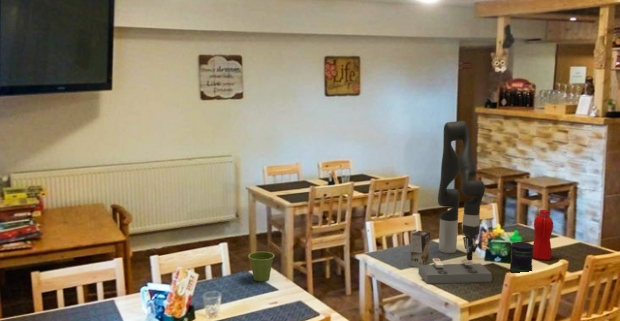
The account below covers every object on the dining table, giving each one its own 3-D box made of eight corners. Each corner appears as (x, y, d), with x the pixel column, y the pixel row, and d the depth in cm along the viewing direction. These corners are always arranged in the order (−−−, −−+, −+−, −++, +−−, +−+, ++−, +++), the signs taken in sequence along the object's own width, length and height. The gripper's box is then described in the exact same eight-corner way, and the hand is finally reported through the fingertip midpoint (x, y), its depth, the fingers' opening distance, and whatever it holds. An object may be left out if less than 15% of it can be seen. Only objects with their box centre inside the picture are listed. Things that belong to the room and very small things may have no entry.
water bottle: (532, 260, 306) (535, 212, 303) (531, 254, 317) (534, 207, 313) (551, 262, 304) (555, 213, 300) (550, 255, 314) (553, 208, 310)
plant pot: (243, 279, 277) (242, 255, 276) (263, 273, 286) (262, 249, 284) (259, 285, 269) (259, 261, 267) (279, 279, 277) (279, 255, 275)
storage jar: (523, 280, 278) (525, 249, 275) (505, 274, 286) (507, 244, 283) (536, 276, 284) (538, 245, 281) (518, 270, 291) (520, 240, 289)
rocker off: (432, 260, 287) (432, 258, 286) (438, 260, 287) (438, 258, 286) (436, 267, 280) (436, 265, 279) (443, 267, 280) (443, 264, 280)
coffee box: (422, 268, 293) (423, 236, 291) (410, 266, 297) (411, 234, 294) (429, 263, 301) (430, 231, 299) (416, 261, 304) (418, 230, 302)
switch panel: (418, 273, 287) (418, 264, 286) (479, 271, 290) (480, 262, 289) (427, 283, 273) (427, 274, 272) (491, 281, 276) (492, 272, 275)
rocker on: (461, 262, 288) (461, 259, 288) (467, 261, 288) (467, 259, 288) (466, 265, 281) (466, 262, 281) (472, 264, 281) (472, 262, 281)
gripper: (458, 220, 284) (456, 255, 287) (468, 227, 271) (466, 264, 274) (473, 219, 285) (472, 255, 288) (484, 227, 272) (482, 264, 275)
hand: (469, 259), depth 281 cm, fingers closed
